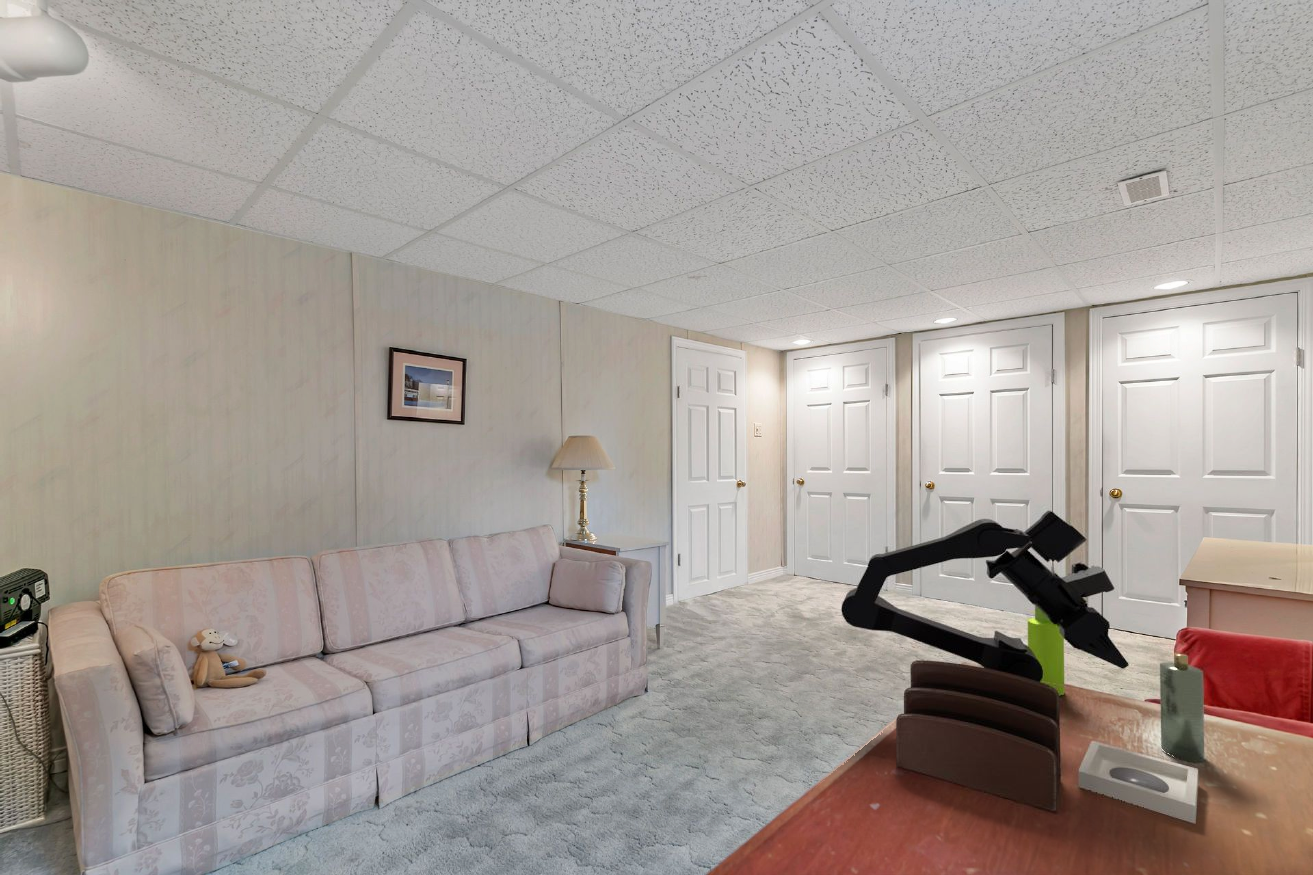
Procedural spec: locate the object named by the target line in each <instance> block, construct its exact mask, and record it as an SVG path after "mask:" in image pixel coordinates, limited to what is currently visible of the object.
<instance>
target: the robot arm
mask: <svg viewBox="0 0 1313 875" xmlns="http://www.w3.org/2000/svg"><path fill="white" fill-rule="evenodd" d="M1086 541H1087V538H1086V537H1085V536H1084V535H1083V534H1082V533H1081V532H1080V531H1078V530H1077V529H1076V527H1074V526H1073V525H1071V524H1069V523H1067V522H1066V521H1065V520H1064V519H1063V518H1061V517H1059V516H1058V515H1057V514H1056V513H1055V512H1054V511H1052V510H1047V511H1046V512H1044V513H1043V514H1042V515H1041V516H1040V518H1039V519H1038V520H1037V521H1035V523H1033V524H1032V525H1031V526H1029V527H1028V528H1027V529H1026V530H1021V529H1018V528H1008V527H1004V526H1002V525H1001V524H999V522H997V521H995V520H993V519H990V518H982V519H981V518H980V519H978V520H975V521H972V522H971V523H969V524H966V525H965V526H963V527H960V528H958V529H957V530H955V531H954V532H952V533H950V534H948V535H945V536H942V537H939V538H936V539H932V540H928V541H924V542H921V543H918V544H915V545H910V546H907V547H903V548H899V549H896V550H893V551H889V552H886V553H877V554H874V555H872V556H871V557H870V559H869V561H868V563H867V567H866V569H865V570H864V573H863V574H862V577H861V579H860V581H859V582H858V584H857V586H856V587H855V588H853V589H850V590H849V591H848V592H847V593H846V595H845V597H844V599H843V601H842V604H841V609H840V611H841V614H842V618H843V619H844V620H845V622H846V623H847V624H848V625H850V626H851V627H855V628H860V629H864V630H869V631H876V632H880V631H881V632H892V633H895V634H897V635H901V636H902V637H906V638H908V639H911V640H913V641H917V642H920V643H922V644H925V645H927V646H930V647H933V648H936V649H939V650H941V651H944V652H947V653H949V654H952V655H955V656H958V657H960V658H963V659H965V660H966V659H967V660H968V661H971V662H973V663H976V664H978V665H980V667H982V668H987V669H992V670H997V671H1001V672H1006V673H1010V674H1014V675H1018V676H1021V677H1025V678H1028V679H1032V680H1035V681H1038V682H1040V681H1041V679H1042V678H1043V669H1042V666H1041V664H1040V663H1039V661H1038V659H1037V658H1036V656H1035V655H1034V653H1033V651H1032V650H1031V649H1030V648H1029V647H1028V644H1027V645H1026V644H1024V642H1023V641H1022V638H1020V637H1011V636H1009V635H1006V634H1004V633H1002V632H1000V631H997V630H995V631H994V635H993V636H994V637H982V636H977V635H975V634H972V633H970V632H966V631H963V630H960V629H958V628H955V627H952V626H949V625H947V624H943V623H941V622H937V621H935V620H932V619H929V618H926V617H923V616H920V615H918V614H915V613H913V612H909V611H907V610H903V609H901V608H898V607H897V606H895V605H893V604H892V603H891V602H889V601H888V600H886V599H885V598H883V597H881V596H879V595H880V592H881V591H882V588H883V586H884V584H885V582H886V580H887V578H888V577H890V576H895V575H899V574H902V573H906V572H910V571H914V570H917V569H918V570H919V569H922V568H925V567H929V566H933V565H936V564H940V563H945V562H948V561H952V560H959V559H961V560H962V559H981V558H983V559H984V558H993V557H997V558H996V559H995V560H989V559H986V560H985V564H986V575H987V576H988V578H989V579H994V578H995V577H996V576H997V575H999V574H1002V576H1004V577H1005V578H1006V579H1007V580H1008V581H1009V582H1010V583H1011V584H1012V585H1013V586H1014V587H1015V588H1016V589H1017V590H1018V591H1020V593H1021V594H1023V595H1024V596H1025V597H1026V599H1027V601H1029V602H1030V603H1031V604H1032V605H1033V606H1034V607H1035V606H1036V607H1037V608H1039V609H1040V610H1041V611H1042V612H1043V613H1044V614H1045V615H1046V616H1047V617H1048V619H1049V620H1050V621H1051V622H1052V623H1053V624H1054V625H1055V624H1056V625H1057V626H1058V627H1059V631H1060V634H1061V635H1062V636H1063V638H1064V641H1066V642H1067V643H1068V644H1069V645H1070V646H1072V647H1073V648H1074V649H1076V650H1079V651H1082V652H1084V653H1087V654H1089V655H1091V656H1093V657H1096V658H1098V659H1100V660H1103V661H1105V662H1108V663H1109V664H1111V665H1114V666H1116V667H1118V668H1120V669H1122V670H1124V669H1126V668H1127V667H1129V665H1130V664H1129V662H1128V661H1127V660H1126V659H1125V657H1124V656H1123V654H1122V653H1121V651H1120V650H1119V649H1118V647H1117V646H1116V645H1115V644H1114V642H1113V641H1112V640H1111V638H1110V636H1109V630H1110V628H1111V624H1110V622H1109V621H1108V619H1106V617H1105V616H1103V615H1102V614H1101V613H1100V612H1098V610H1096V609H1095V608H1094V607H1091V606H1088V603H1087V600H1086V599H1084V598H1090V597H1092V596H1095V595H1098V594H1101V593H1109V592H1112V591H1114V590H1115V587H1114V585H1113V583H1112V580H1111V579H1110V578H1109V576H1108V574H1107V572H1106V571H1105V569H1104V568H1102V567H1101V566H1099V565H1096V566H1095V565H1092V566H1090V567H1089V566H1088V565H1086V564H1084V563H1083V562H1082V561H1078V562H1076V563H1073V564H1071V571H1070V572H1071V573H1070V572H1069V573H1067V575H1066V576H1063V577H1061V576H1059V574H1057V573H1056V572H1052V571H1051V570H1050V569H1049V568H1048V567H1047V566H1046V565H1045V564H1044V563H1043V562H1041V561H1040V560H1039V558H1037V557H1036V556H1035V555H1034V554H1033V553H1032V552H1030V551H1029V550H1030V549H1032V550H1033V551H1034V552H1035V553H1037V555H1039V557H1041V558H1042V559H1043V560H1044V561H1046V562H1047V563H1049V562H1050V561H1051V562H1052V563H1054V562H1055V561H1056V562H1057V563H1058V564H1059V563H1060V562H1062V560H1063V559H1065V558H1066V557H1068V556H1069V555H1070V554H1071V553H1072V552H1074V551H1075V550H1077V548H1079V547H1080V546H1081V545H1082V544H1084V543H1085V542H1086ZM1010 549H1011V550H1013V549H1015V550H1014V551H1012V552H1010V551H1008V550H1010Z"/></svg>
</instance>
